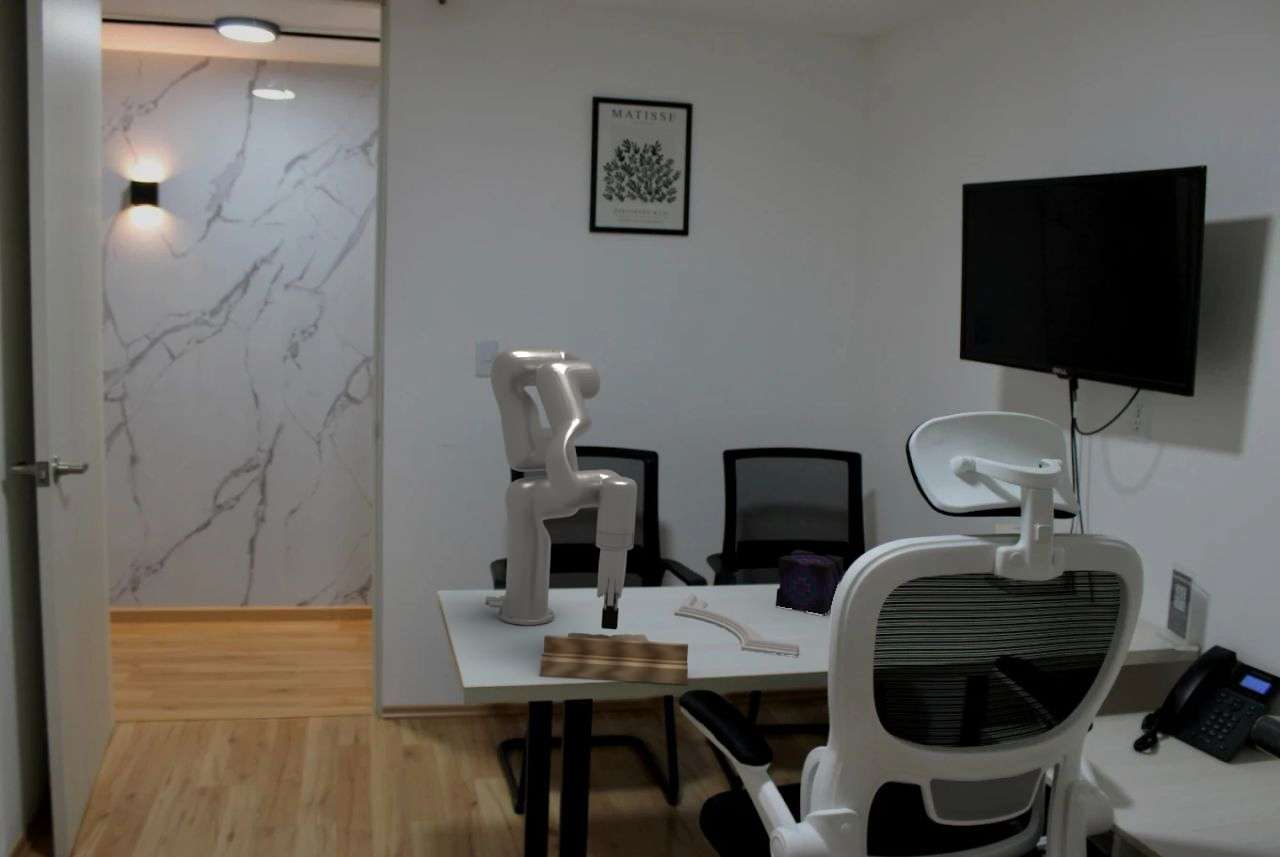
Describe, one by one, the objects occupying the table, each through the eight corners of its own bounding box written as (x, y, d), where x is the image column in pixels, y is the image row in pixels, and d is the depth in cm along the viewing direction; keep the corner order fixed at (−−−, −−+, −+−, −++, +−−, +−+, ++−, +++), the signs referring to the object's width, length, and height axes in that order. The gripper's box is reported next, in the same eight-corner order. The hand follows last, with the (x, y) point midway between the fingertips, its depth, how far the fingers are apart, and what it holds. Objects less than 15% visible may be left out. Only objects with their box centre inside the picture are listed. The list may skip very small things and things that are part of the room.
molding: (810, 658, 234) (811, 645, 234) (764, 665, 228) (765, 651, 227) (697, 603, 270) (698, 591, 270) (655, 607, 264) (656, 595, 263)
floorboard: (540, 675, 213) (541, 645, 212) (545, 658, 223) (547, 629, 222) (686, 684, 212) (688, 654, 212) (685, 666, 222) (687, 637, 222)
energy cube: (793, 596, 279) (797, 549, 277) (839, 605, 273) (843, 557, 272) (775, 607, 268) (779, 558, 267) (823, 616, 263) (827, 567, 261)
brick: (644, 652, 230) (645, 630, 230) (653, 666, 222) (654, 643, 222) (565, 654, 227) (566, 631, 226) (570, 668, 219) (571, 645, 218)
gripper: (598, 529, 229) (592, 615, 232) (594, 546, 214) (588, 638, 217) (634, 531, 229) (628, 617, 232) (632, 549, 214) (626, 641, 217)
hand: (609, 627), depth 224 cm, fingers closed
